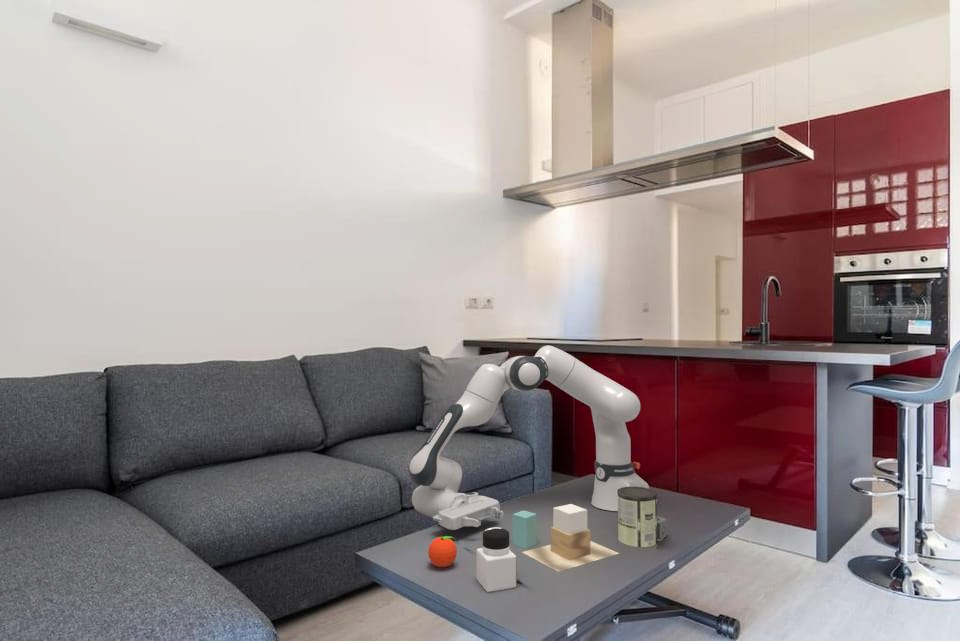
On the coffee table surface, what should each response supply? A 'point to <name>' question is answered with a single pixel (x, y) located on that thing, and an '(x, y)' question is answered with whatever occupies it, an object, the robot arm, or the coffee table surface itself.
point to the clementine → (442, 551)
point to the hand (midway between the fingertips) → (490, 519)
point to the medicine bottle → (496, 561)
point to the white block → (570, 519)
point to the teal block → (524, 529)
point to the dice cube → (661, 527)
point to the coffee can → (637, 516)
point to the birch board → (561, 563)
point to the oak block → (570, 544)
